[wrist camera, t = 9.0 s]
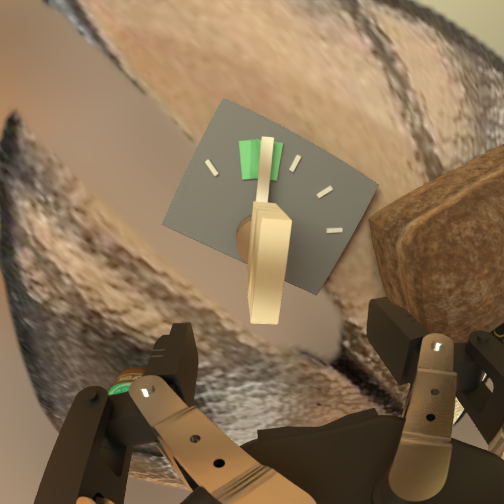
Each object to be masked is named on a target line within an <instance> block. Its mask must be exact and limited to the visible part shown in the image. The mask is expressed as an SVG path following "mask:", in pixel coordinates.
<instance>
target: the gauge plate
mask: <svg viewBox="0 0 504 504" xmlns="http://www.w3.org/2000/svg"><path fill="white" fill-rule="evenodd" d="M262 136H263V137H272V138H274V142H273V153H272V163H271V173H270V183H269V193H268V203H276V204H277V205H278V206H279V208H280V209H281V210H282V211H283V212H284V213H285V214H286V215H287V216H288V217H289V218H290V219H291V220H292V225H291V233H290V241H289V248H288V256H287V264H286V271H285V278H284V281H286V282H288V283H290V284H293V285H295V286H297V287H299V288H302V289H304V290H306V291H308V292H310V293H313V294H315V295H317V294H318V293H319V291H320V289H321V288H322V286H323V284H324V283H325V281H326V279H327V278H328V276H329V274H330V273H331V271H332V269H333V268H334V266H335V264H336V263H337V261H338V259H339V257H340V256H341V254H342V252H343V250H344V249H345V247H346V245H347V243H348V242H349V240H350V238H351V236H352V234H353V233H354V231H355V229H356V227H357V225H358V224H359V222H360V220H361V218H362V216H363V214H364V212H365V211H366V209H367V207H368V205H369V203H370V201H371V199H372V197H373V195H374V193H375V191H376V190H377V188H378V186H379V184H377V183H376V182H374V181H373V180H371V179H370V178H368V177H367V176H365V175H364V174H362V173H361V172H359V171H358V170H356V169H355V168H353V167H351V166H350V165H348V164H347V163H345V162H344V161H342V160H340V159H339V158H337V157H335V156H334V155H332V154H330V153H329V152H327V151H325V150H324V149H322V148H320V147H319V146H317V145H315V144H313V143H312V142H310V141H308V140H306V139H305V138H303V137H301V136H299V135H297V134H296V133H294V132H292V131H290V130H288V129H286V128H285V127H283V126H281V125H279V124H277V123H275V122H273V121H271V120H269V119H267V118H265V117H263V116H261V115H259V114H257V113H255V112H253V111H251V110H249V109H247V108H245V107H243V106H240V105H238V104H236V103H234V102H232V101H230V100H227V99H225V98H223V99H222V101H221V103H220V105H219V107H218V108H217V110H216V112H215V114H214V116H213V118H212V120H211V121H210V123H209V125H208V127H207V129H206V131H205V133H204V135H203V137H202V139H201V141H200V143H199V145H198V147H197V149H196V151H195V153H194V155H193V157H192V159H191V161H190V163H189V165H188V167H187V170H186V172H185V174H184V176H183V178H182V180H181V182H180V185H179V187H178V189H177V191H176V193H175V196H174V198H173V200H172V202H171V205H170V207H169V209H168V212H167V214H166V216H165V219H164V221H163V224H162V225H164V226H166V227H168V228H170V229H172V230H174V231H177V232H179V233H181V234H183V235H185V236H187V237H189V238H192V239H194V240H196V241H198V242H200V243H202V244H205V245H207V246H209V247H211V248H213V249H215V250H218V251H220V252H222V253H224V254H227V255H229V256H231V257H233V258H235V259H237V260H240V261H242V262H244V263H246V264H248V263H247V262H245V261H244V260H243V259H242V258H241V257H240V255H239V253H238V251H237V246H236V231H237V228H238V226H239V224H240V223H241V221H242V220H244V219H245V218H246V217H248V216H251V215H252V211H253V201H255V202H256V192H257V181H258V171H259V160H260V150H261V139H262Z"/></svg>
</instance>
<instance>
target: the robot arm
mask: <svg viewBox="0 0 504 504" xmlns="http://www.w3.org/2000/svg"><path fill="white" fill-rule="evenodd" d="M367 337H368V340H369V342H370V343H371V345H372V346H373V348H374V349H375V351H376V352H377V354H378V355H379V356H380V358H381V359H382V361H383V362H384V364H385V365H386V367H387V368H388V370H389V371H390V373H391V374H392V376H393V377H394V378H395V380H396V381H397V383H398V384H399V385H402V384H406V383H410V384H411V385H410V388H409V392H408V396H407V399H406V403H405V407H404V410H403V414H402V417H397V416H390V415H378V414H377V412H376V410H375V408H372V409H368V410H365V411H361V412H357V413H353V414H349V415H346V416H344V417H342V418H340V419H337V420H335V421H333V422H331V423H328V424H326V425H324V426H321V427H292V426H287V427H280V428H272V429H264V430H257V434H258V439H255V440H252V441H249V442H247V443H245V444H243V445H241V446H238V445H237V444H236V443H235V442H233V441H232V440H231V439H230V438H229V437H228V436H227V435H226V434H224V433H223V432H222V431H221V430H220V429H219V428H218V427H217V426H216V425H215V424H214V423H213V422H211V421H210V420H209V419H208V418H207V417H206V416H205V415H204V414H203V413H202V412H201V411H200V410H199V409H198V408H197V407H196V406H194V405H193V401H194V393H195V386H196V378H197V371H198V352H197V348H196V343H195V339H194V334H193V330H192V326H191V323H190V322H186V323H173V325H172V328H171V331H170V334H169V335H162V336H161V337H160V338H159V339H158V340H157V341H156V343H155V345H154V348H153V351H152V353H151V357H150V359H149V362H148V364H147V367H146V370H145V373H144V375H143V377H140V378H138V379H136V380H135V381H133V382H132V383H131V385H130V386H129V391H127V392H123V393H118V394H113V395H108V392H107V391H106V390H105V389H104V388H103V387H100V386H90V387H87V388H85V389H83V390H81V391H80V392H79V393H78V394H77V395H76V397H75V399H74V401H73V403H72V406H71V408H70V410H69V412H68V415H67V417H66V419H65V421H64V424H63V426H62V428H61V431H60V433H59V436H58V438H57V441H56V443H55V446H54V448H53V450H52V453H51V456H50V458H49V461H48V463H47V466H46V469H45V472H44V475H43V477H42V480H41V483H40V486H39V489H38V492H37V495H36V498H35V501H34V504H124V497H125V491H126V484H127V478H128V472H129V466H130V461H131V455H132V450H133V445H137V444H142V443H147V442H152V441H153V442H154V443H155V445H156V446H157V447H158V449H159V450H160V451H161V453H162V454H163V455H164V457H165V458H166V459H167V461H168V462H169V463H170V464H171V466H172V467H173V468H174V469H175V471H176V472H177V473H178V475H179V476H180V478H181V479H182V480H183V482H184V483H185V484H186V486H187V487H188V488H189V489H190V490H191V492H192V493H191V494H190V495H189V496H188V497H187V498H186V499H185V500H184V501H183V502H182V503H180V504H504V345H503V344H502V343H501V342H500V341H499V340H498V339H497V338H495V337H494V336H493V335H492V334H491V333H489V332H486V331H481V330H477V331H473V332H471V333H470V334H469V337H468V341H467V342H464V343H453V341H452V340H451V339H450V338H449V337H448V336H446V335H443V334H438V333H433V334H431V333H430V332H429V331H428V330H427V329H426V328H425V327H424V326H423V325H422V324H421V323H420V322H419V321H417V319H416V318H415V317H413V316H412V315H411V314H410V313H409V312H408V311H407V310H406V309H404V308H402V307H400V306H398V305H396V306H395V305H394V304H393V303H392V302H391V301H390V300H389V299H388V298H387V297H382V298H377V299H372V300H370V302H369V310H368V320H367ZM485 373H486V374H487V375H488V377H489V378H490V379H491V380H492V382H493V385H494V389H493V393H492V392H491V391H490V390H489V389H488V387H487V386H486V385H485V384H484V382H483V381H482V379H483V377H484V375H485ZM456 397H457V399H458V400H459V402H460V403H461V405H462V406H463V408H464V409H465V410H466V412H467V413H468V415H469V416H470V418H471V419H472V421H473V422H474V424H475V425H476V427H477V428H478V430H479V431H480V433H481V434H482V436H483V437H484V439H485V440H486V442H487V444H488V445H489V447H488V451H487V450H484V449H481V448H478V447H475V446H472V445H469V444H467V443H464V442H461V441H459V440H456V439H453V438H451V434H452V427H453V419H454V410H455V399H456Z"/></svg>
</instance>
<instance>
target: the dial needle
mask: <svg viewBox="0 0 504 504" xmlns="http://www.w3.org/2000/svg"><path fill="white" fill-rule="evenodd" d="M273 142H274V138H272V137H263V136H262V139H261V150H260V160H259V171H258V181H257V192H256V202H255V201H253V211H252V215H251V216H248V217H246V218H245V219H244V220H242V221H241V223H240V224H239V226H238V228H237V231H236V246H237V251H238V253H239V255H240V257H241V258H242V259H243V260H244V261H245V262H247V263H248V265H247V276H246V285H247V294H248V303H249V311H250V320H251V323H259V324H278V319H279V312H280V306H281V299H282V292H283V285H284V278H285V271H286V264H287V256H288V248H289V241H290V233H291V225H292V220H291V219H290V218H289V217H288V216H287V215H286V214H285V213H284V212H283V211H282V210H281V209H280V208H279V206H278V205H277V204H276V203H268V193H269V183H270V173H271V163H272V153H273Z"/></svg>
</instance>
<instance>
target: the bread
mask: <svg viewBox="0 0 504 504" xmlns="http://www.w3.org/2000/svg"><path fill="white" fill-rule="evenodd" d="M369 220H370V226H371V232H372V239H373V245H374V249H375V253H376V257H377V261H378V266H379V270H380V273H381V277H382V281H383V284H384V288H385V291H386V293H387V296H388V299H389V300H390V301H391V302H392V303H393V304H394V305H395V306H396V305H398V306H400V307H402V308H404V309H406V310H407V311H408V312H409V313H410V314H411V315H412V316H413V317H415V318H416V319H417V321H419V322H420V323H421V324H422V325H423V326H424V327H425V328H426V329H427V330H428V331H429V332H430V333H431V334H433V333H438V334H443V335H446V336H448V337H449V338H450V339H451V340H452V341H453V343H464V342H467V341H468V337H469V334H470V333H471V332H473V331H477V330H481V331H486V332H491V331H492V330H494V329H495V328H497V327H498V326H499V325H501V324H502V323H504V144H503V145H501V146H499V147H496V148H494V149H492V150H490V151H488V152H486V153H484V154H482V155H480V156H478V157H476V158H475V159H473V160H471V161H469V162H467V163H466V164H464V165H462V166H460V167H458V168H457V169H454V170H452V171H450V172H448V173H446V174H444V175H441V176H439V177H437V178H435V179H433V180H432V181H430V182H428V183H426V184H425V185H423V186H421V187H419V188H417V189H415V190H414V191H412V192H410V193H408V194H406V195H405V196H403V197H401V198H399V199H397V200H396V201H394V202H392V203H391V204H389V205H387V206H386V207H384V208H383V209H381V210H380V211H378V212H377V213H376V214H374V215H373V216H372V217H371V218H369Z"/></svg>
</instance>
